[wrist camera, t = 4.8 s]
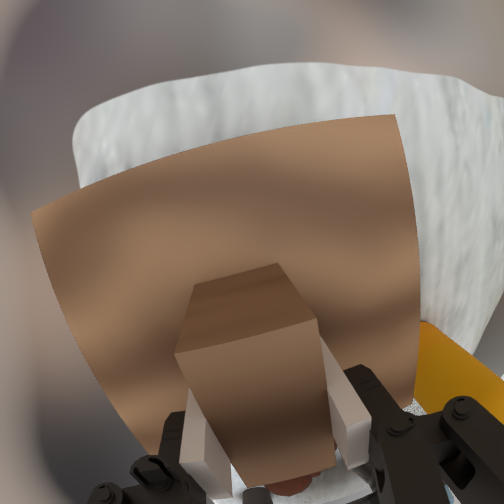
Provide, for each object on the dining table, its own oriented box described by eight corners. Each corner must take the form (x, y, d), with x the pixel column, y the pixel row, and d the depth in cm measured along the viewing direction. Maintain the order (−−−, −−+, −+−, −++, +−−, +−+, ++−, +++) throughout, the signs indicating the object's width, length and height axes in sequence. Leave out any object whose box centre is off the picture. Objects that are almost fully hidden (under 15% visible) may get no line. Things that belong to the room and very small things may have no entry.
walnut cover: (403, 393, 18) (450, 452, 11) (163, 455, 17) (152, 528, 10) (380, 119, 13) (473, 87, 6) (45, 210, 13) (-49, 229, 6)
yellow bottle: (434, 309, 34) (575, 416, 6) (431, 356, 37) (539, 464, 9) (384, 334, 34) (522, 482, 6) (385, 380, 36) (485, 516, 8)
